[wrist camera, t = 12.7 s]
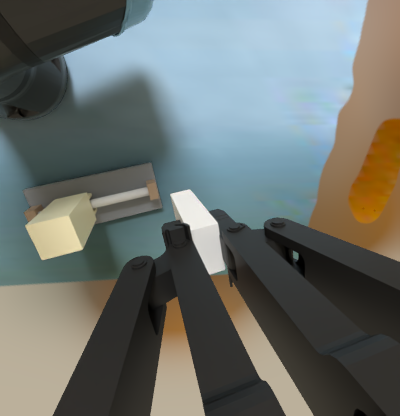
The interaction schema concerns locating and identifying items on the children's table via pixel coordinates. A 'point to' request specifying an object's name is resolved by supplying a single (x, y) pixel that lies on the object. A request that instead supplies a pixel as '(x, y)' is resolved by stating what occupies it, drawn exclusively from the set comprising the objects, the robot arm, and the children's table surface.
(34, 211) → the rod bead slider
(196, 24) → the children's table surface
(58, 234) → the pale yellow block
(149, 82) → the children's table surface
